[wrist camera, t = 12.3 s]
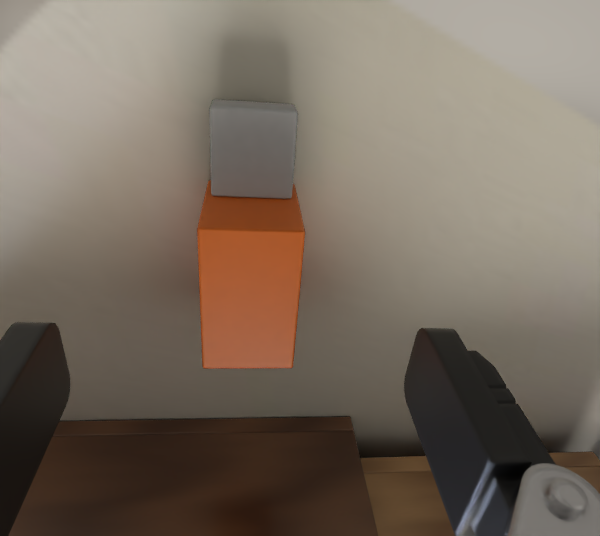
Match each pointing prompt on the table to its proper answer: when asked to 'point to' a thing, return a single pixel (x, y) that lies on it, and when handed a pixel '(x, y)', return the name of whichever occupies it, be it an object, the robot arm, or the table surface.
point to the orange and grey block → (250, 238)
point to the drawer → (433, 492)
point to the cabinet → (200, 479)
